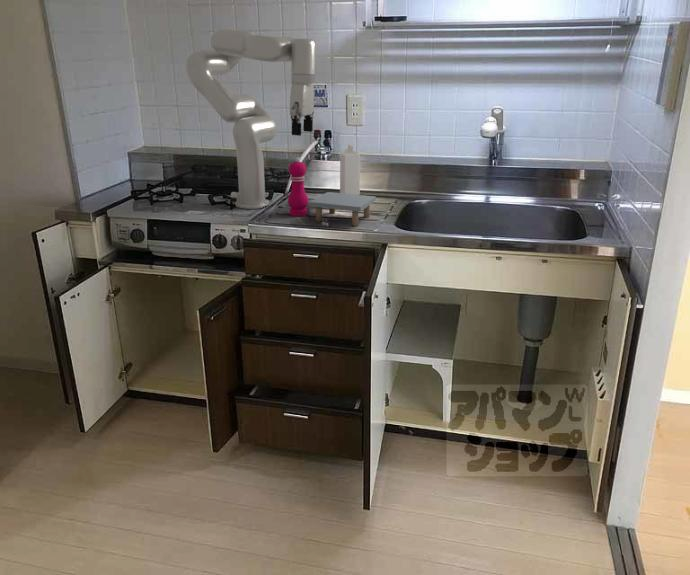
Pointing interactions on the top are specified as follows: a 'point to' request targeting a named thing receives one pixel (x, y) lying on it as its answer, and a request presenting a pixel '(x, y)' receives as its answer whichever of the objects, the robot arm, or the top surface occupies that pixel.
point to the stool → (343, 204)
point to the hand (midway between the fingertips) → (302, 133)
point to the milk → (349, 171)
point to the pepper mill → (297, 189)
